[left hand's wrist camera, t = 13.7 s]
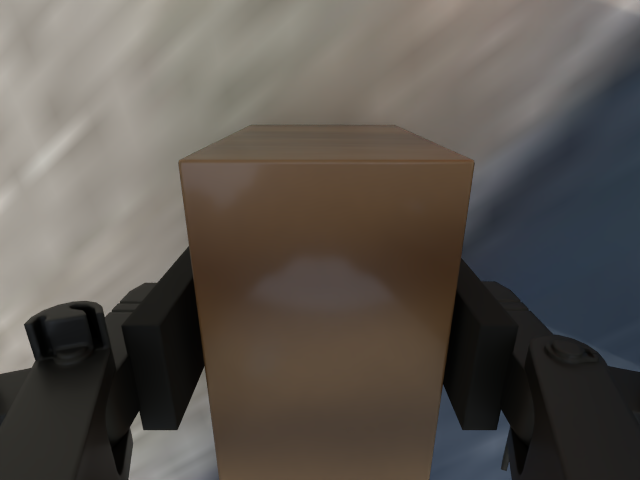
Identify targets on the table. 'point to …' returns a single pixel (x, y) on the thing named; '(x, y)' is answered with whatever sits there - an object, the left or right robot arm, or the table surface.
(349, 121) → the table surface
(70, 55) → the table surface
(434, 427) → the beam
